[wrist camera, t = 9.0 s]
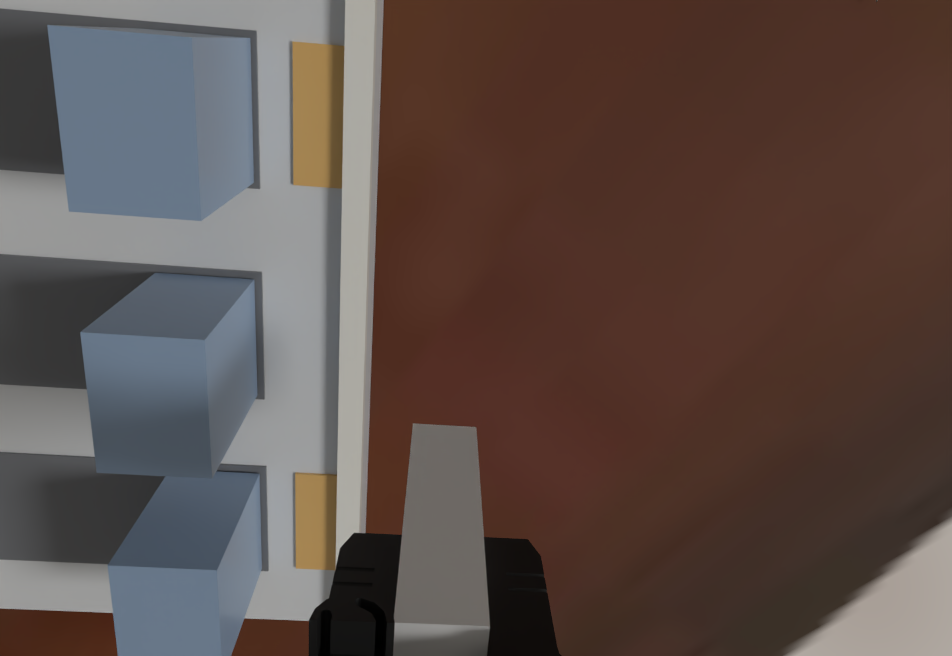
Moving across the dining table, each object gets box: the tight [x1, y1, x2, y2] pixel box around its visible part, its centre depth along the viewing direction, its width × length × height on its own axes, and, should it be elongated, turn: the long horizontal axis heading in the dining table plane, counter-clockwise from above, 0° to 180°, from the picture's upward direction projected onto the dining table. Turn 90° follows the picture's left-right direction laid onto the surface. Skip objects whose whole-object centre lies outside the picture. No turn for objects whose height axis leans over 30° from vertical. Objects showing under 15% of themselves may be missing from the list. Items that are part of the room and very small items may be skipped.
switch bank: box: [0, 0, 384, 621], centre depth 24 cm, size 23×17×3 cm
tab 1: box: [47, 25, 254, 221], centre depth 19 cm, size 4×3×5 cm
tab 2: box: [80, 273, 257, 479], centre depth 21 cm, size 4×3×5 cm
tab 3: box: [107, 471, 262, 656], centre depth 24 cm, size 4×3×5 cm
